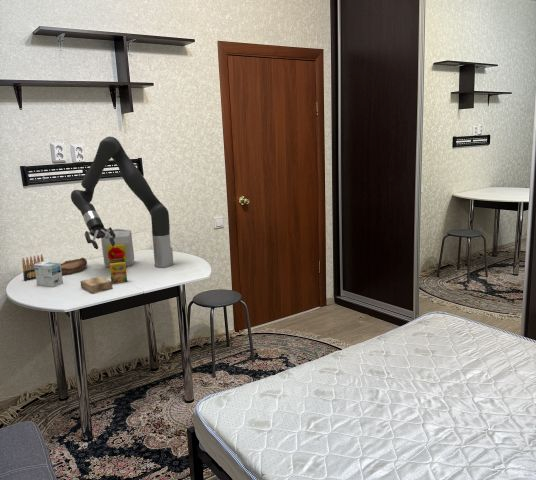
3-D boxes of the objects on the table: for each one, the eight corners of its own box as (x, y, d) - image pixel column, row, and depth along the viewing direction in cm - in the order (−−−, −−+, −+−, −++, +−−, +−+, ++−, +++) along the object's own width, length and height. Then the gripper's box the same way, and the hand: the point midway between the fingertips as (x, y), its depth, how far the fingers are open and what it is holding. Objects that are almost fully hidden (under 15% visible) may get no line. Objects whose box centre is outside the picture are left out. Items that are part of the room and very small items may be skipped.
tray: (101, 283, 243) (100, 276, 242) (112, 288, 235) (111, 281, 234) (81, 288, 237) (80, 280, 236) (92, 293, 228) (91, 286, 227)
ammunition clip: (45, 275, 259) (42, 253, 256) (46, 276, 257) (43, 254, 255) (23, 280, 252) (20, 257, 249) (24, 281, 251) (21, 258, 248)
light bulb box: (63, 283, 246) (61, 261, 243) (53, 287, 239) (51, 265, 237) (46, 281, 249) (43, 260, 247) (36, 285, 243) (33, 264, 240)
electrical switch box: (103, 273, 267) (98, 239, 260) (108, 262, 281) (103, 229, 273) (131, 272, 269) (127, 237, 261) (134, 261, 282) (130, 227, 275)
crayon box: (111, 284, 241) (109, 260, 239) (111, 282, 244) (108, 259, 241) (127, 281, 244) (125, 258, 242) (126, 280, 247) (124, 257, 244)
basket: (71, 263, 283) (69, 254, 282) (96, 267, 274) (95, 258, 272) (36, 274, 263) (35, 265, 262) (63, 278, 254) (62, 269, 253)
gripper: (81, 219, 247) (93, 245, 242) (108, 215, 257) (120, 240, 251) (78, 228, 252) (90, 253, 247) (104, 224, 262) (116, 248, 256)
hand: (105, 246), depth 249 cm, fingers open, 8 cm apart
